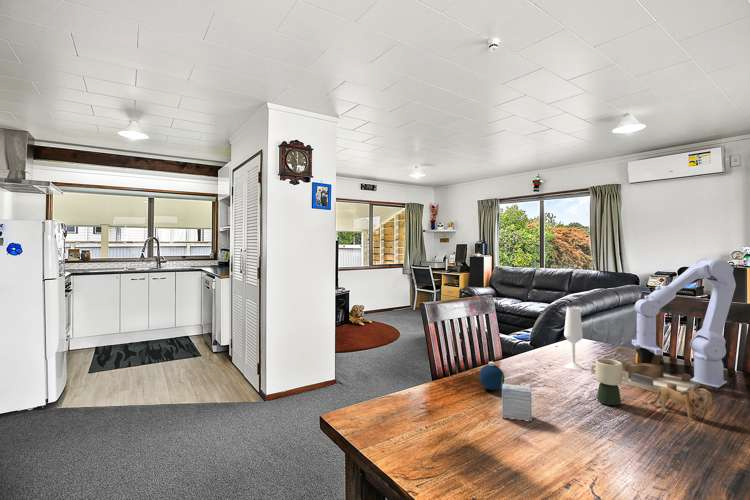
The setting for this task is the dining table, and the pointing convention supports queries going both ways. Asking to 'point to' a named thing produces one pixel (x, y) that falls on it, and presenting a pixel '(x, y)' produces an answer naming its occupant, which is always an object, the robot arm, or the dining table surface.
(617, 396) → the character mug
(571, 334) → the champagne flute
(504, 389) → the medicine box
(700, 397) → the lion figurine
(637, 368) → the wooden board
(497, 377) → the christmas ornament
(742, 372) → the dining table surface
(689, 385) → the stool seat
